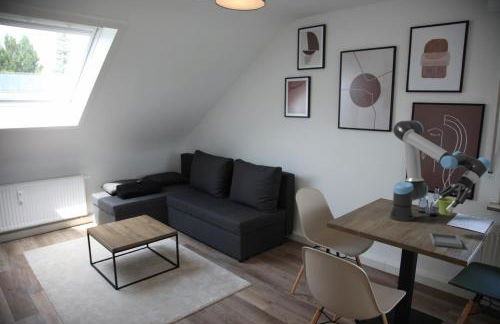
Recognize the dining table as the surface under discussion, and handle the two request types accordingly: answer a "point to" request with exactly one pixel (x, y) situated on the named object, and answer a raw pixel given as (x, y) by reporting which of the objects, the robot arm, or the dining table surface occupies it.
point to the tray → (445, 240)
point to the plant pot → (445, 206)
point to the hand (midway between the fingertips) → (441, 208)
